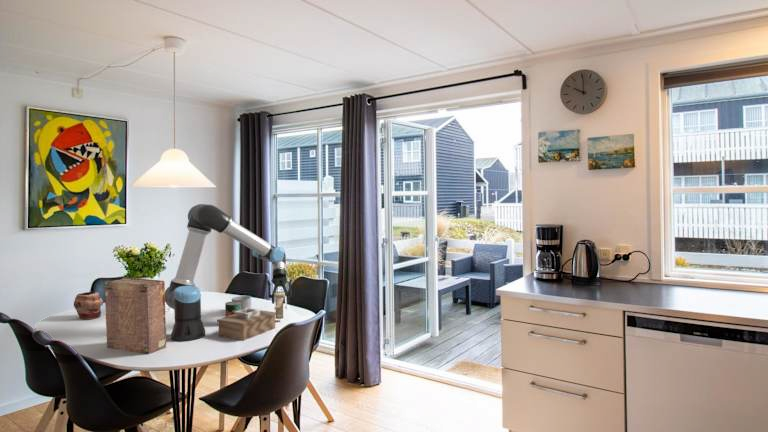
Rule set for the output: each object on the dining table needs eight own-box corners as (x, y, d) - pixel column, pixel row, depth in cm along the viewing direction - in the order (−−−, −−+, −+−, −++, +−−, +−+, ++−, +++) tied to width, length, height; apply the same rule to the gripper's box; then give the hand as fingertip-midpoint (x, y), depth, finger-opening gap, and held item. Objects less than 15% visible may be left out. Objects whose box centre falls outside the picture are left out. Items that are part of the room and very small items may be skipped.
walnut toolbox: (243, 340, 215) (243, 318, 215) (217, 336, 223) (216, 314, 222) (276, 328, 235) (276, 307, 235) (251, 323, 243) (250, 304, 243)
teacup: (248, 313, 265) (247, 299, 264) (229, 313, 265) (228, 299, 265) (255, 307, 279) (255, 294, 278) (237, 307, 279) (237, 294, 279)
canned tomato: (225, 326, 239) (224, 305, 239) (226, 322, 247) (225, 301, 246) (241, 324, 241) (240, 304, 241) (241, 320, 249) (241, 300, 249)
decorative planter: (63, 319, 255) (62, 294, 254) (84, 313, 267) (83, 289, 266) (91, 322, 249) (90, 296, 248) (111, 316, 260) (110, 291, 260)
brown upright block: (106, 347, 207) (104, 280, 206) (124, 341, 216) (122, 277, 214) (149, 354, 198) (146, 284, 197) (166, 347, 207) (164, 280, 205)
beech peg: (280, 319, 244) (280, 294, 244) (271, 318, 247) (271, 293, 246) (286, 317, 249) (287, 292, 249) (278, 316, 252) (278, 291, 251)
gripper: (295, 274, 264) (297, 310, 249) (262, 276, 260) (263, 312, 245) (295, 267, 259) (298, 303, 244) (262, 268, 255) (262, 305, 240)
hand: (280, 307), depth 244 cm, fingers closed on beech peg, 5 cm apart
